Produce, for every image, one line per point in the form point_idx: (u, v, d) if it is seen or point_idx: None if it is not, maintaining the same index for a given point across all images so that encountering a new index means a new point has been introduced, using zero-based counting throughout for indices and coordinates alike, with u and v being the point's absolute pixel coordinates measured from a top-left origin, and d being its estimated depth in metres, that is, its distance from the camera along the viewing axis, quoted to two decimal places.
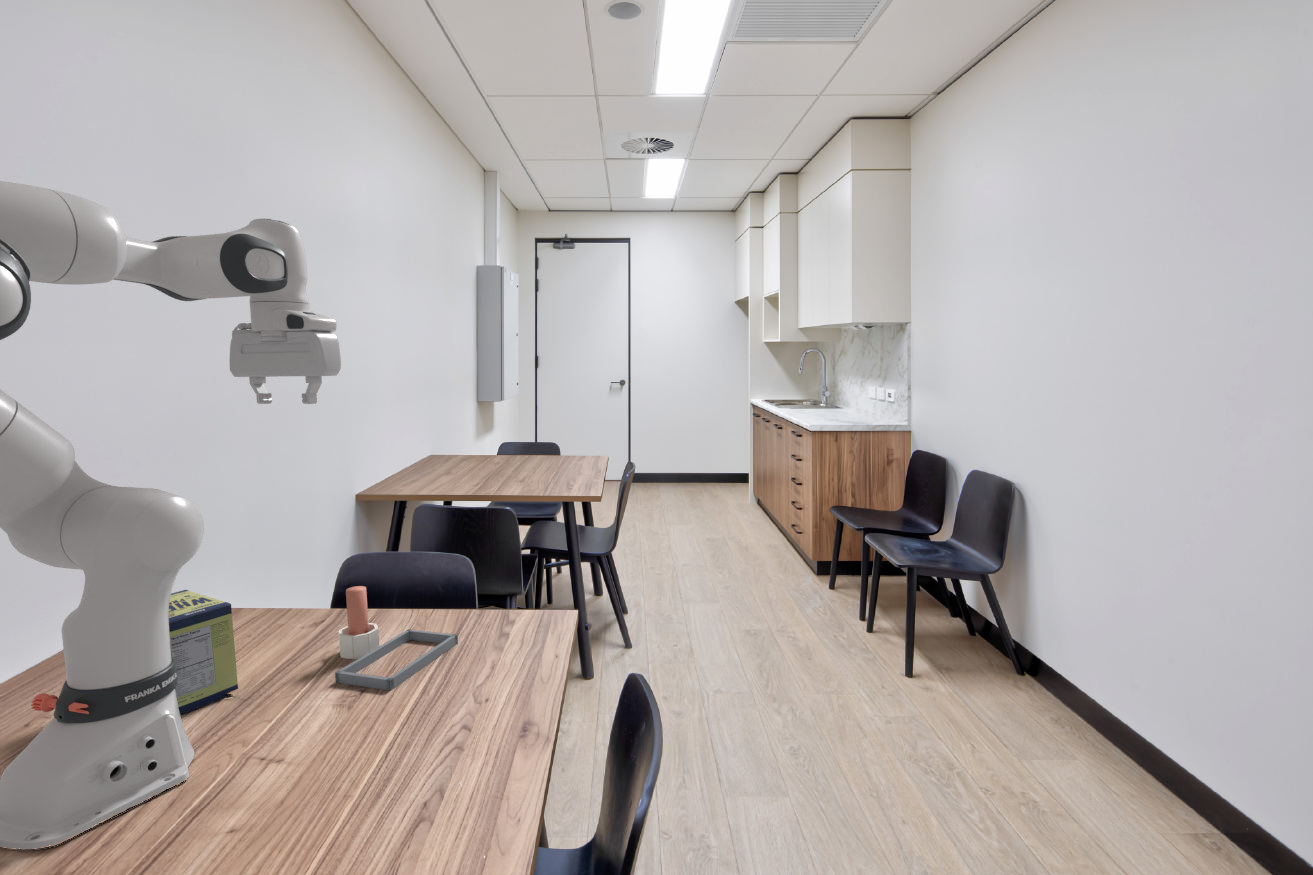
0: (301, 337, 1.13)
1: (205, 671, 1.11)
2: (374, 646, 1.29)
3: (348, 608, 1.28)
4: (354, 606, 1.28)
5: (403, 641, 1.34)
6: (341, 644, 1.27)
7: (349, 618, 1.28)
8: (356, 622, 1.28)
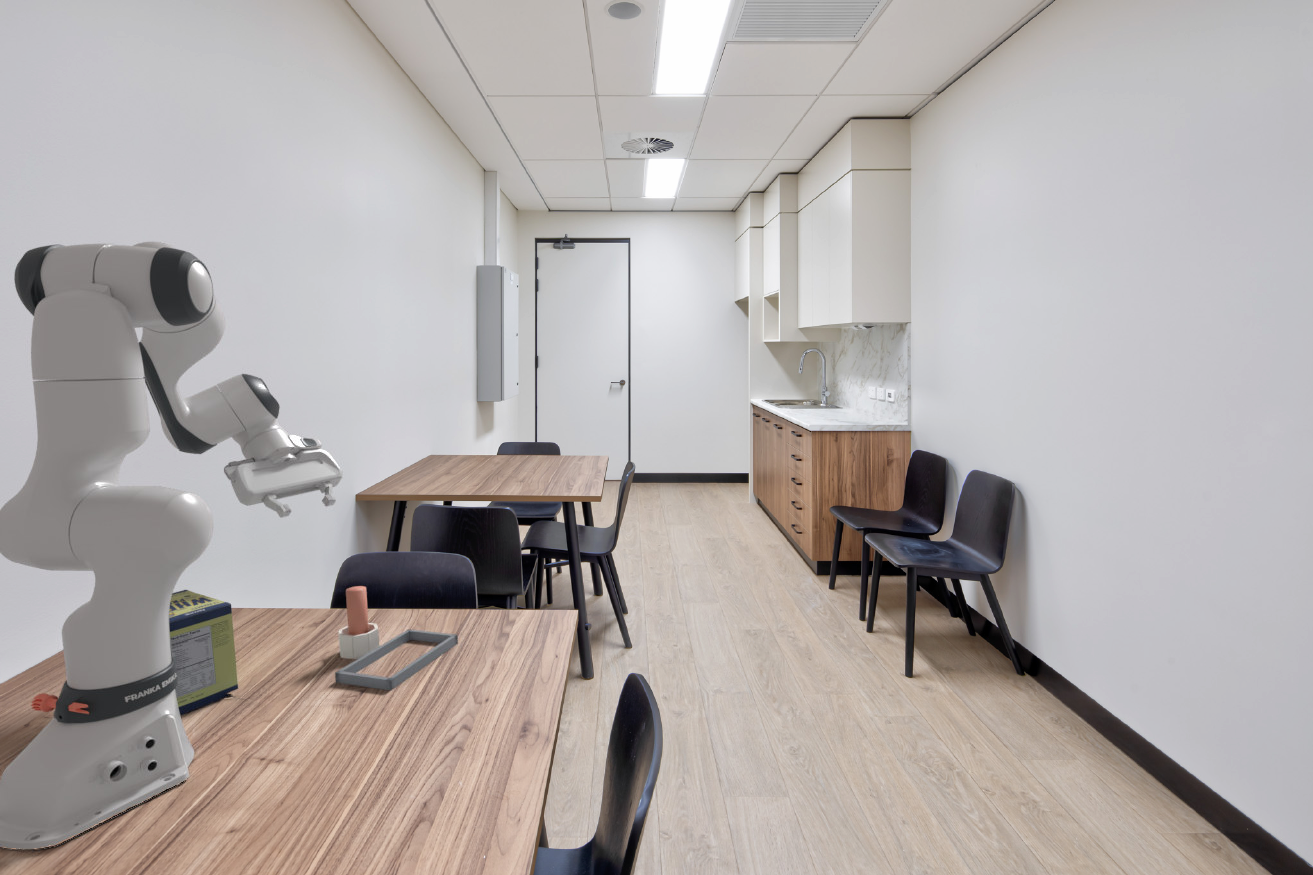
0: (314, 453, 1.40)
1: (205, 671, 1.11)
2: (374, 646, 1.29)
3: (348, 608, 1.28)
4: (354, 606, 1.28)
5: (403, 641, 1.34)
6: (341, 644, 1.27)
7: (349, 618, 1.28)
8: (356, 622, 1.28)
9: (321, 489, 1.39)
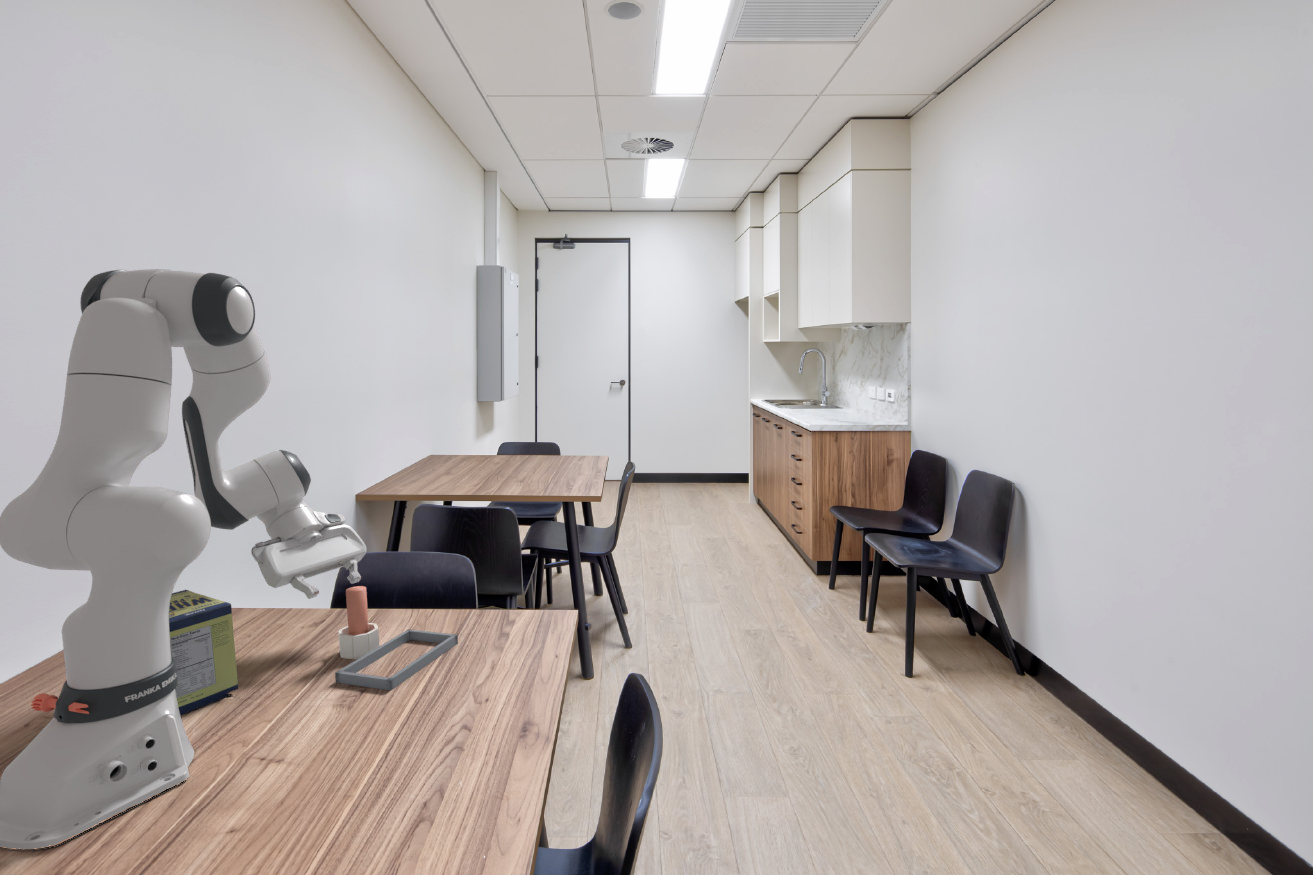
0: (339, 529, 1.39)
1: (205, 671, 1.11)
2: (374, 646, 1.29)
3: (348, 608, 1.28)
4: (354, 606, 1.28)
5: (403, 641, 1.34)
6: (341, 644, 1.27)
7: (349, 618, 1.28)
8: (356, 622, 1.28)
9: (346, 566, 1.38)
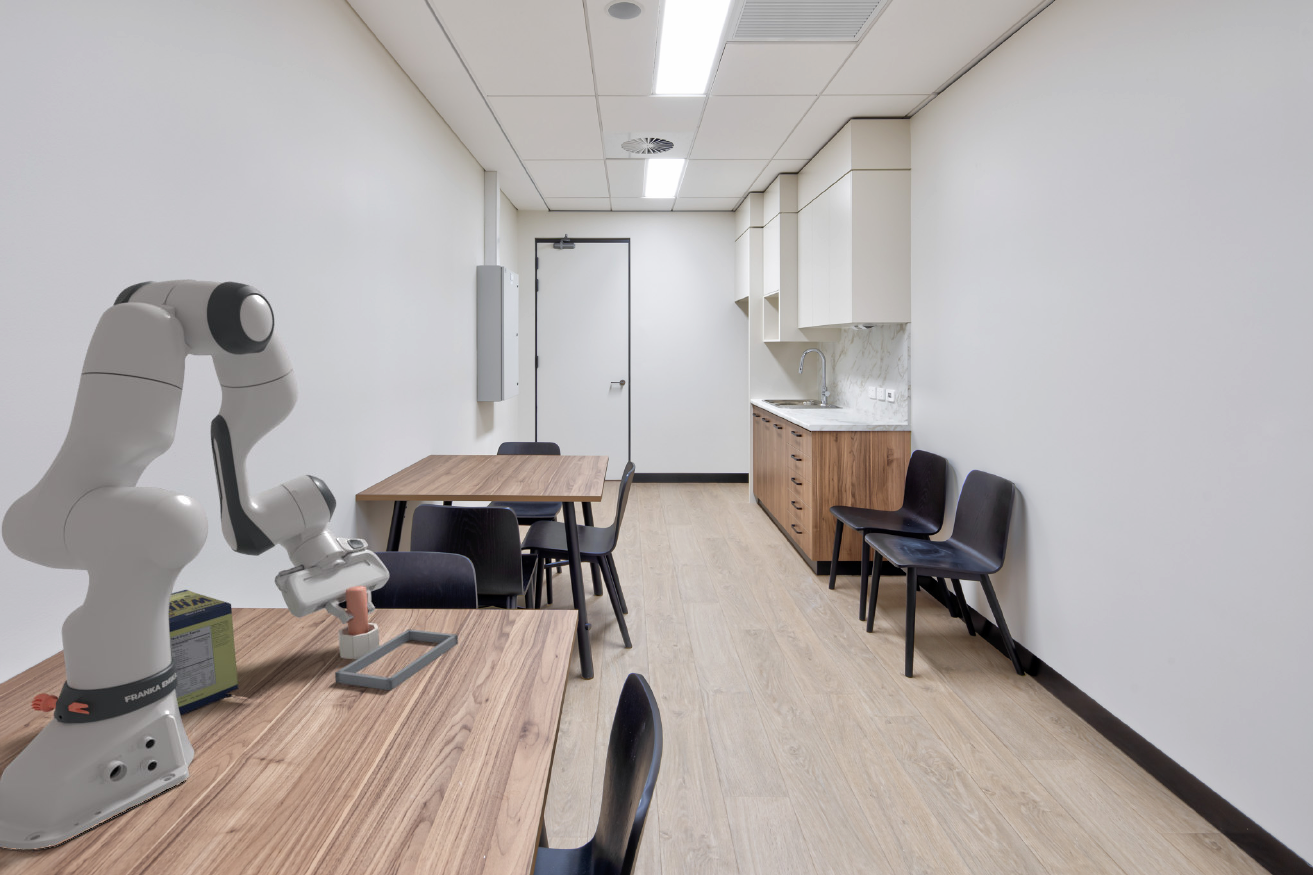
0: (361, 555, 1.37)
1: (205, 671, 1.11)
2: (374, 646, 1.29)
3: (348, 608, 1.28)
4: (354, 606, 1.28)
5: (403, 641, 1.34)
6: (341, 644, 1.27)
7: None
8: (356, 622, 1.28)
9: None
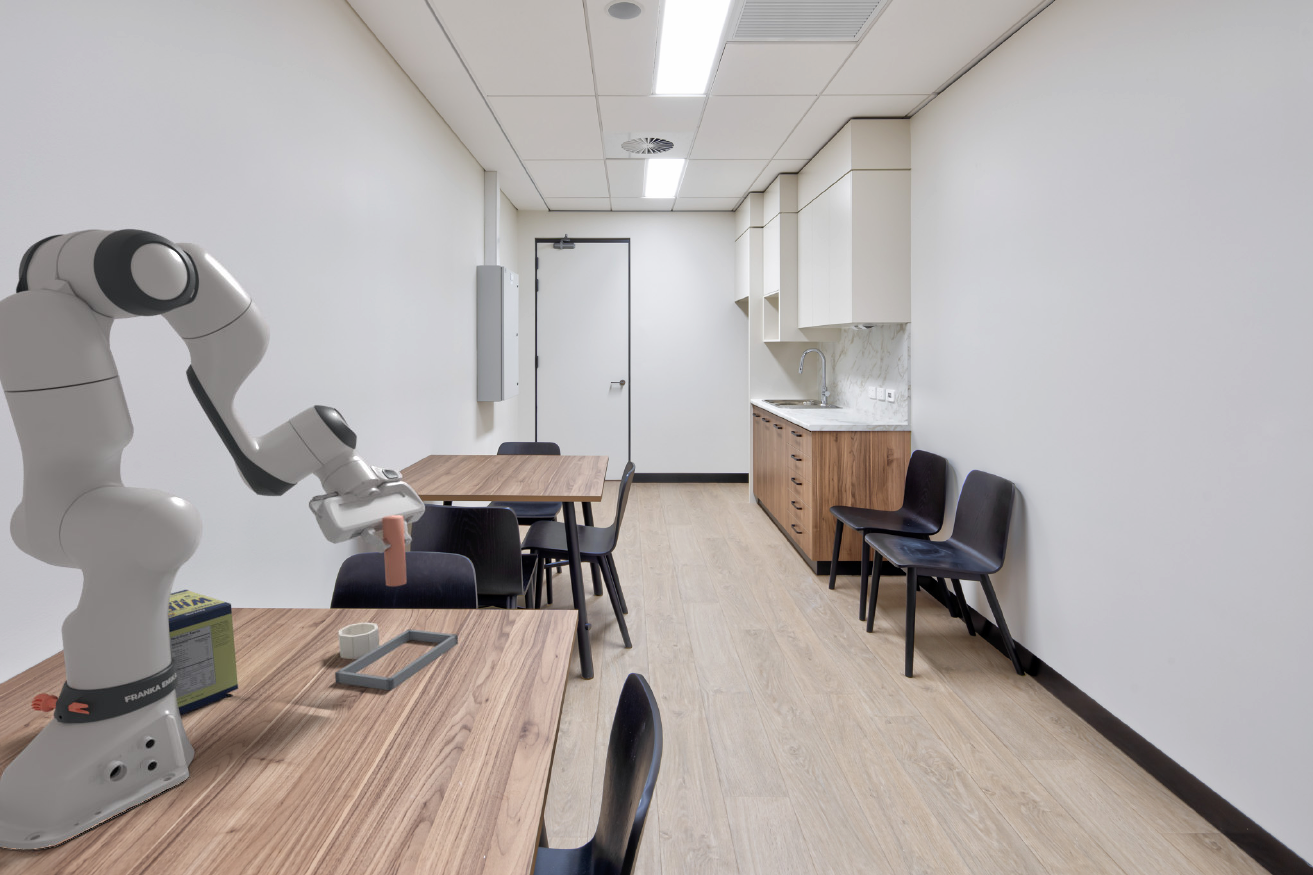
0: (396, 486, 1.30)
1: (205, 671, 1.11)
2: (374, 646, 1.29)
3: (385, 537, 1.22)
4: (392, 535, 1.21)
5: (403, 641, 1.34)
6: (341, 644, 1.27)
7: None
8: (393, 552, 1.22)
9: None
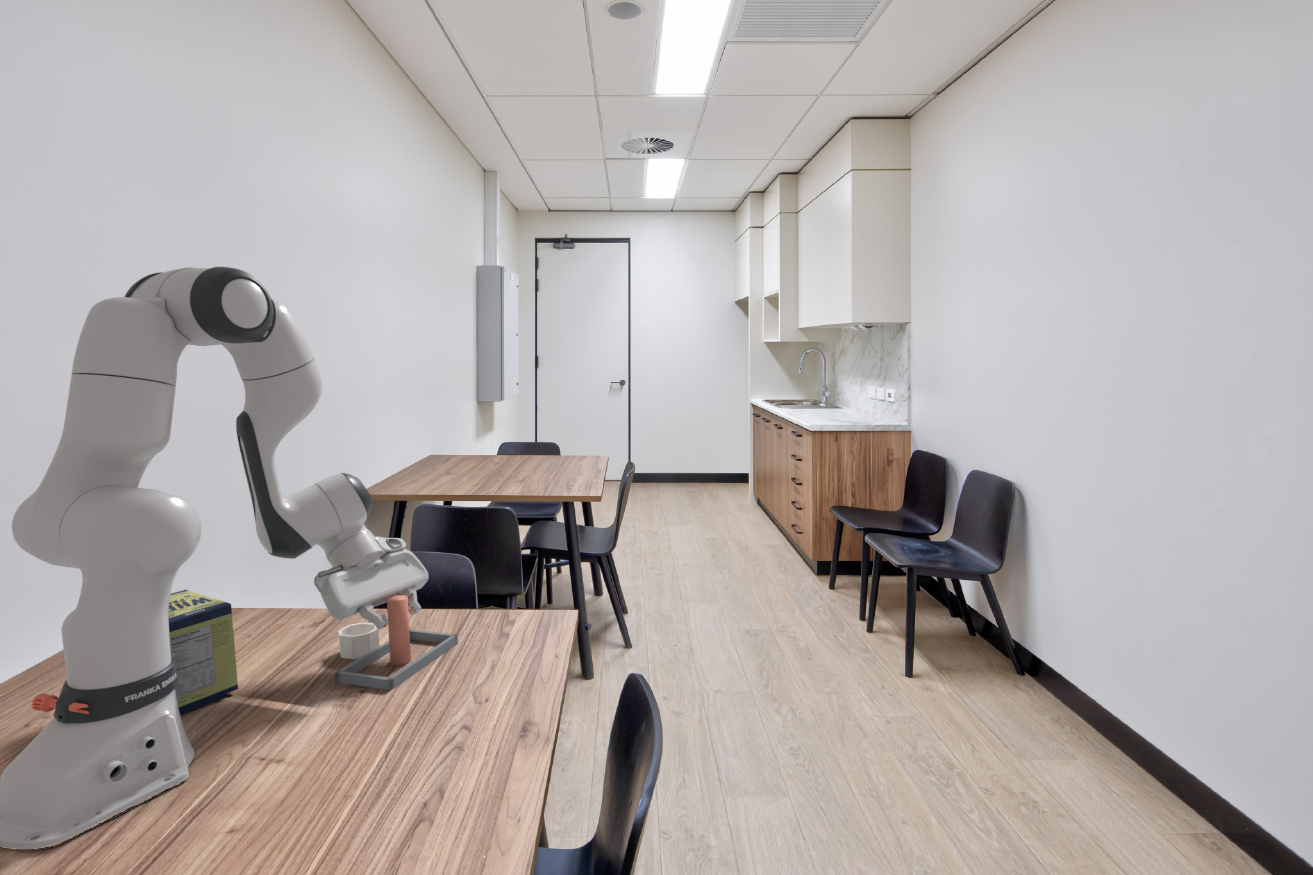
0: (400, 555, 1.32)
1: (205, 671, 1.11)
2: (374, 646, 1.29)
3: (389, 618, 1.23)
4: (396, 617, 1.23)
5: None
6: (341, 644, 1.27)
7: (390, 629, 1.23)
8: (398, 633, 1.23)
9: (404, 595, 1.29)
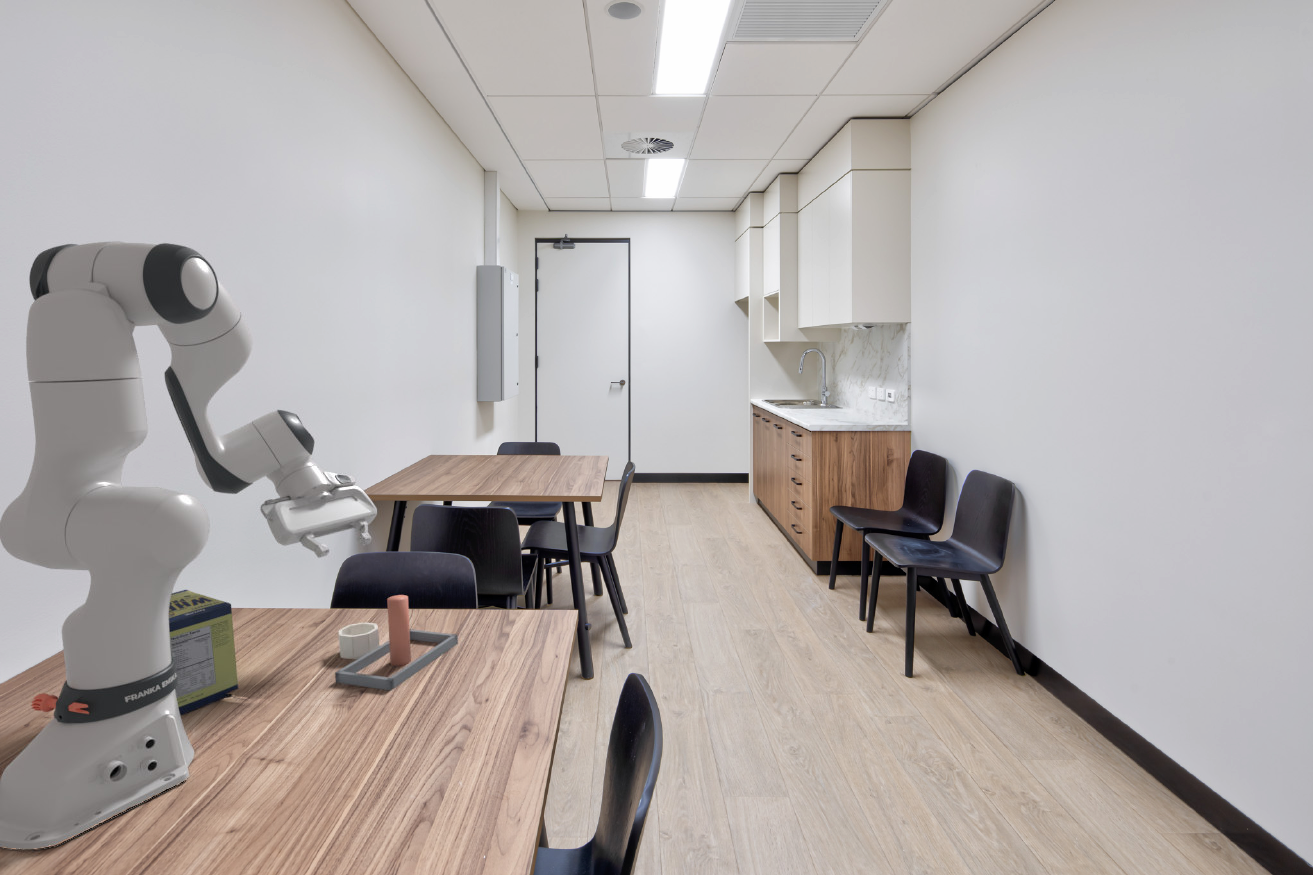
0: (349, 490, 1.36)
1: (205, 671, 1.11)
2: (374, 646, 1.29)
3: (390, 618, 1.23)
4: (396, 616, 1.23)
5: None
6: (341, 644, 1.27)
7: (391, 628, 1.24)
8: (398, 633, 1.23)
9: (356, 527, 1.35)
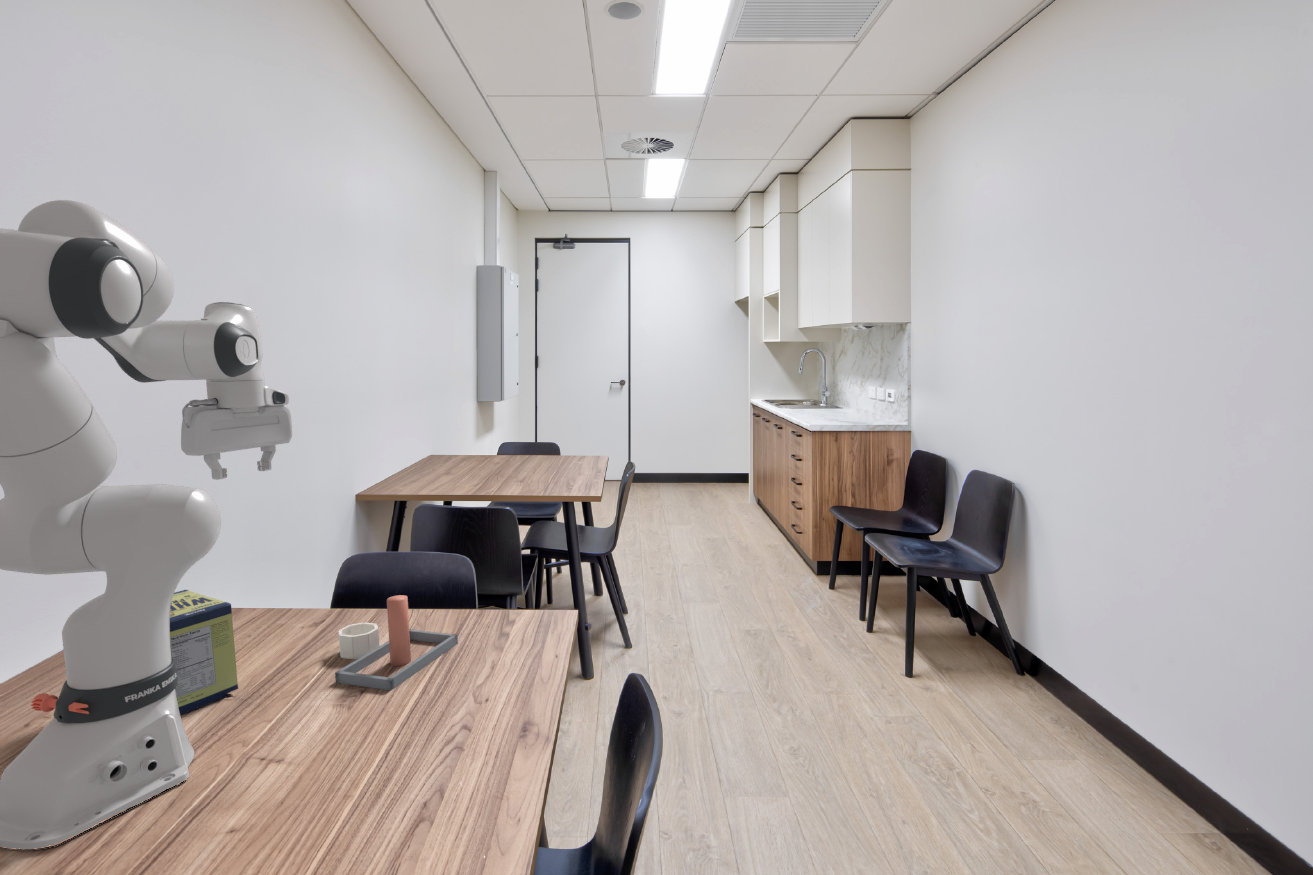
0: (277, 411, 1.28)
1: (205, 671, 1.11)
2: (374, 646, 1.29)
3: (389, 618, 1.23)
4: (396, 617, 1.23)
5: None
6: (341, 644, 1.27)
7: (390, 629, 1.23)
8: (398, 633, 1.23)
9: (262, 448, 1.28)
